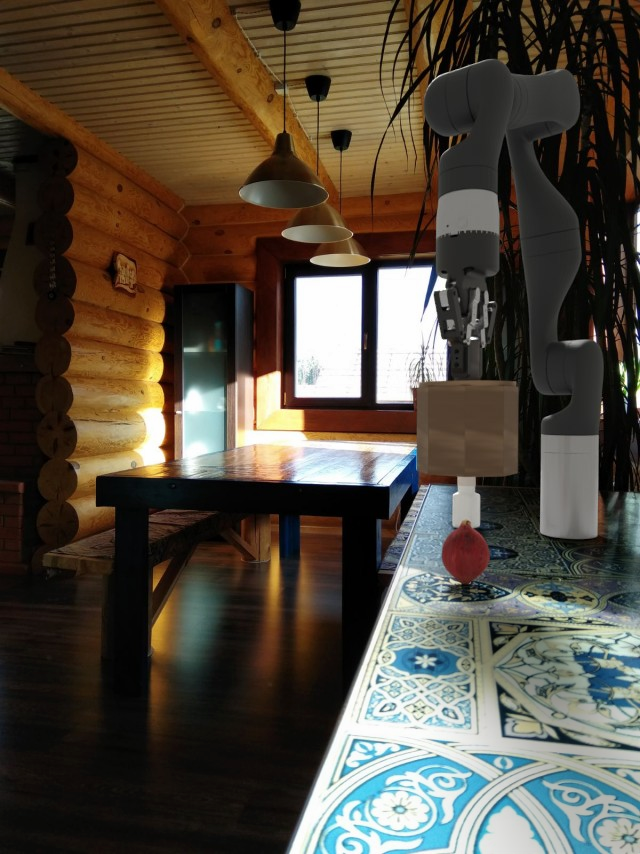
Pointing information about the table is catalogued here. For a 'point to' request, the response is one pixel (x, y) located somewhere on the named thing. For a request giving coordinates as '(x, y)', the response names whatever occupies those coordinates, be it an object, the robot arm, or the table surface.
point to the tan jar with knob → (468, 425)
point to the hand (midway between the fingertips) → (466, 377)
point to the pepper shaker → (466, 503)
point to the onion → (465, 553)
